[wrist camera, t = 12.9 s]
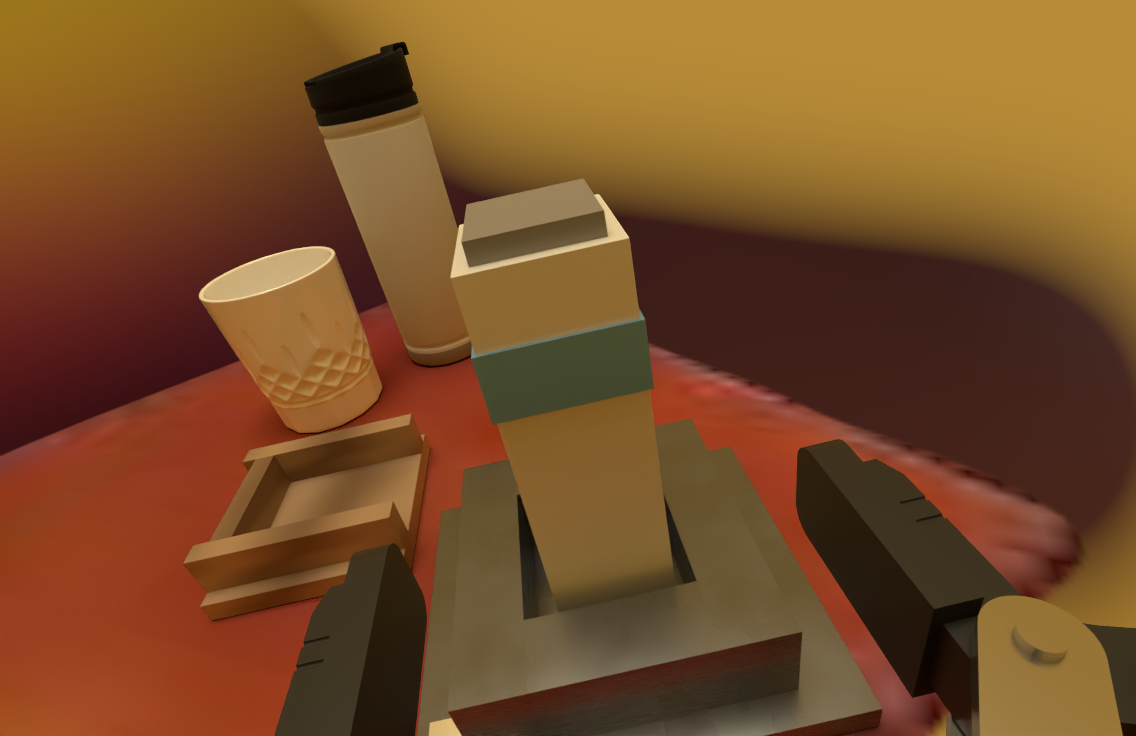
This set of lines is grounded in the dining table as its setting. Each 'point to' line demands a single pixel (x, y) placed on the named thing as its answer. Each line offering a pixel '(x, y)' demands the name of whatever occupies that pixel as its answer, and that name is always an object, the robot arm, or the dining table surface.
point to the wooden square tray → (313, 515)
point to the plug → (568, 385)
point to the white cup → (298, 336)
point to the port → (636, 624)
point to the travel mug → (395, 196)
